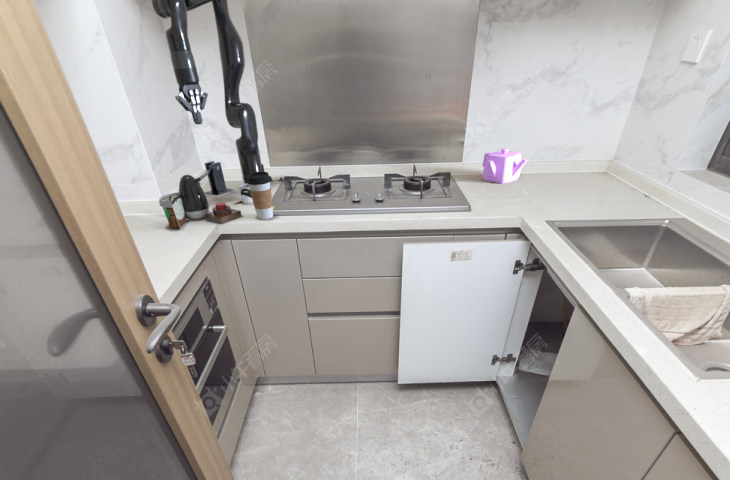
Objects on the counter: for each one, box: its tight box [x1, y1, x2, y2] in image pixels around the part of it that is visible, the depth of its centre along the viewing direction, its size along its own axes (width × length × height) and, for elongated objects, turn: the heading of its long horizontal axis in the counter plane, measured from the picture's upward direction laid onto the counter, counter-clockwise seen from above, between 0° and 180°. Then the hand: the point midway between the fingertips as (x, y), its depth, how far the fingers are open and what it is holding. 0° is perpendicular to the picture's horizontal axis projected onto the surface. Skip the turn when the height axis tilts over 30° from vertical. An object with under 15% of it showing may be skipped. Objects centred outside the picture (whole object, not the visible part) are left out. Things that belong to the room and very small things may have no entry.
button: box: [214, 202, 227, 209], centre depth 157 cm, size 4×4×2 cm
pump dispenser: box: [178, 174, 210, 220], centre depth 158 cm, size 10×10×15 cm
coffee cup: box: [247, 171, 274, 220], centre depth 155 cm, size 8×8×15 cm
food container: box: [158, 191, 189, 230], centre depth 153 cm, size 12×6×10 cm, turn 2°
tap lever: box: [198, 163, 213, 186], centre depth 179 cm, size 14×5×2 cm, turn 147°
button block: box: [204, 204, 243, 225], centre depth 159 cm, size 10×9×4 cm
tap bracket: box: [204, 160, 235, 197], centre depth 184 cm, size 10×8×13 cm
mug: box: [238, 183, 254, 206], centre depth 174 cm, size 10×7×7 cm, turn 87°
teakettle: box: [482, 147, 528, 184], centre depth 187 cm, size 17×17×12 cm
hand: (198, 124), depth 158 cm, fingers closed
